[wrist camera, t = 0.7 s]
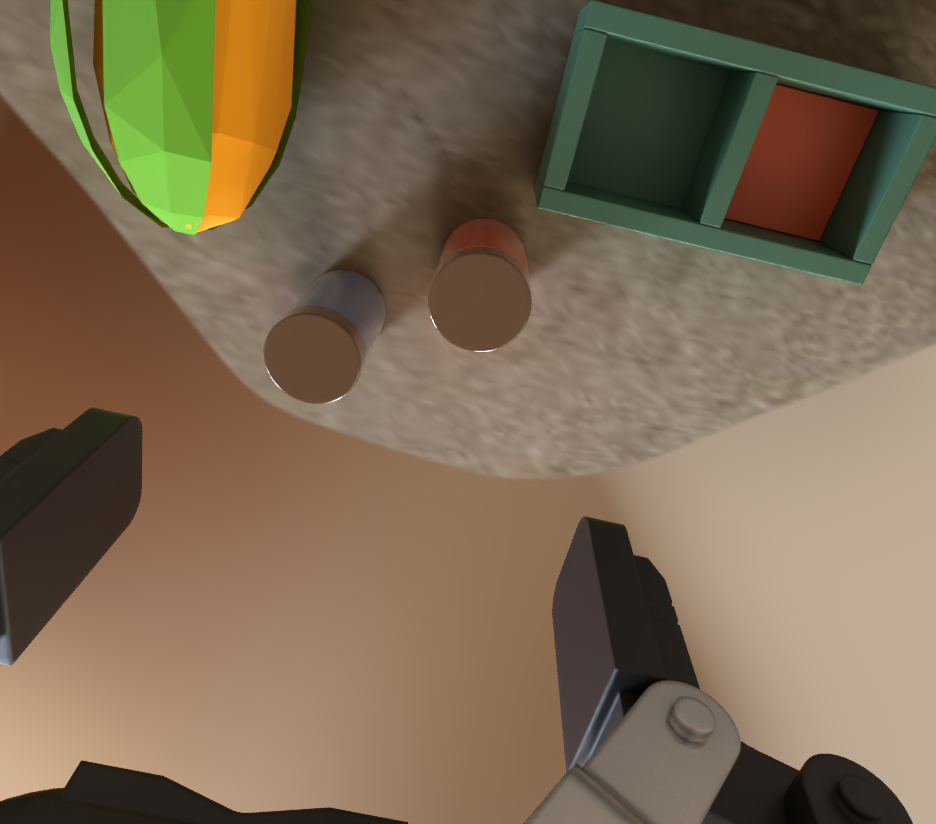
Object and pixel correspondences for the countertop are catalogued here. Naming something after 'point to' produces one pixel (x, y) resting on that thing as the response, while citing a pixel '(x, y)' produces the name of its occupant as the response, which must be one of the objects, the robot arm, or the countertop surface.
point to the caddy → (731, 143)
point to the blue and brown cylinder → (325, 337)
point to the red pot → (481, 287)
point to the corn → (190, 99)
